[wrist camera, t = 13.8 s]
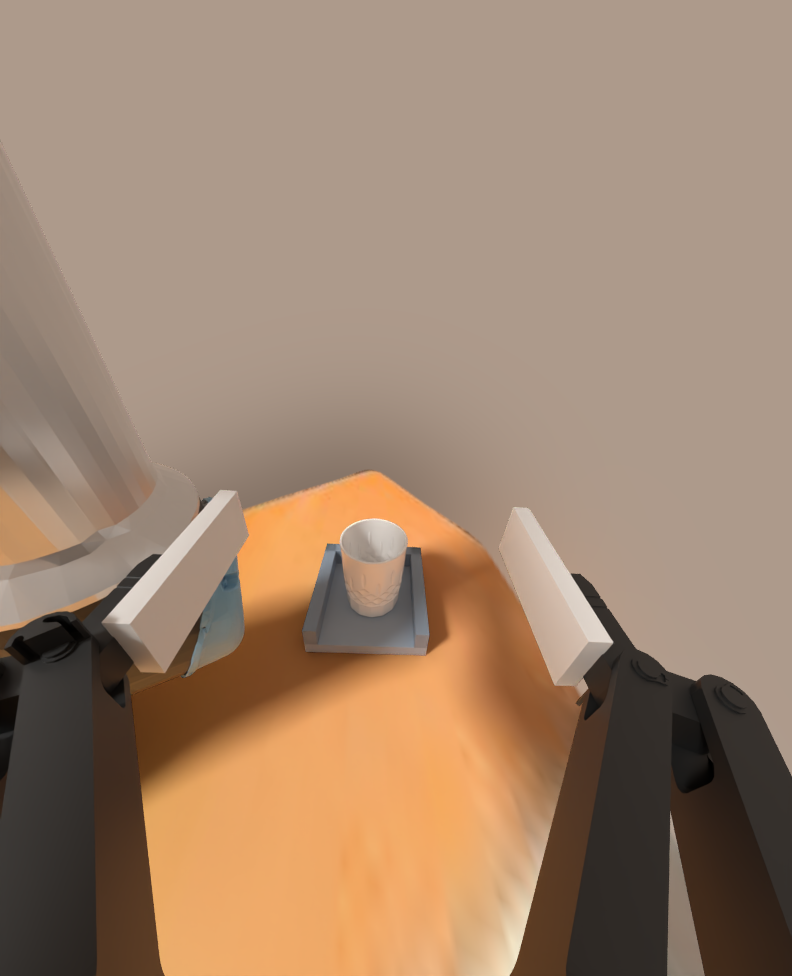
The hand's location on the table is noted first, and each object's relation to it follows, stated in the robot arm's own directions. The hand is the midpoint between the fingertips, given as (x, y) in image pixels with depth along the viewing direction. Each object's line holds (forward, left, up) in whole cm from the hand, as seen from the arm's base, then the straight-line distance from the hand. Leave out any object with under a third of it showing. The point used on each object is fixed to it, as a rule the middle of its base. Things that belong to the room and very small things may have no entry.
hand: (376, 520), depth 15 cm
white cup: (-3, +14, -24) cm, 28 cm away
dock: (-4, +14, -26) cm, 30 cm away
